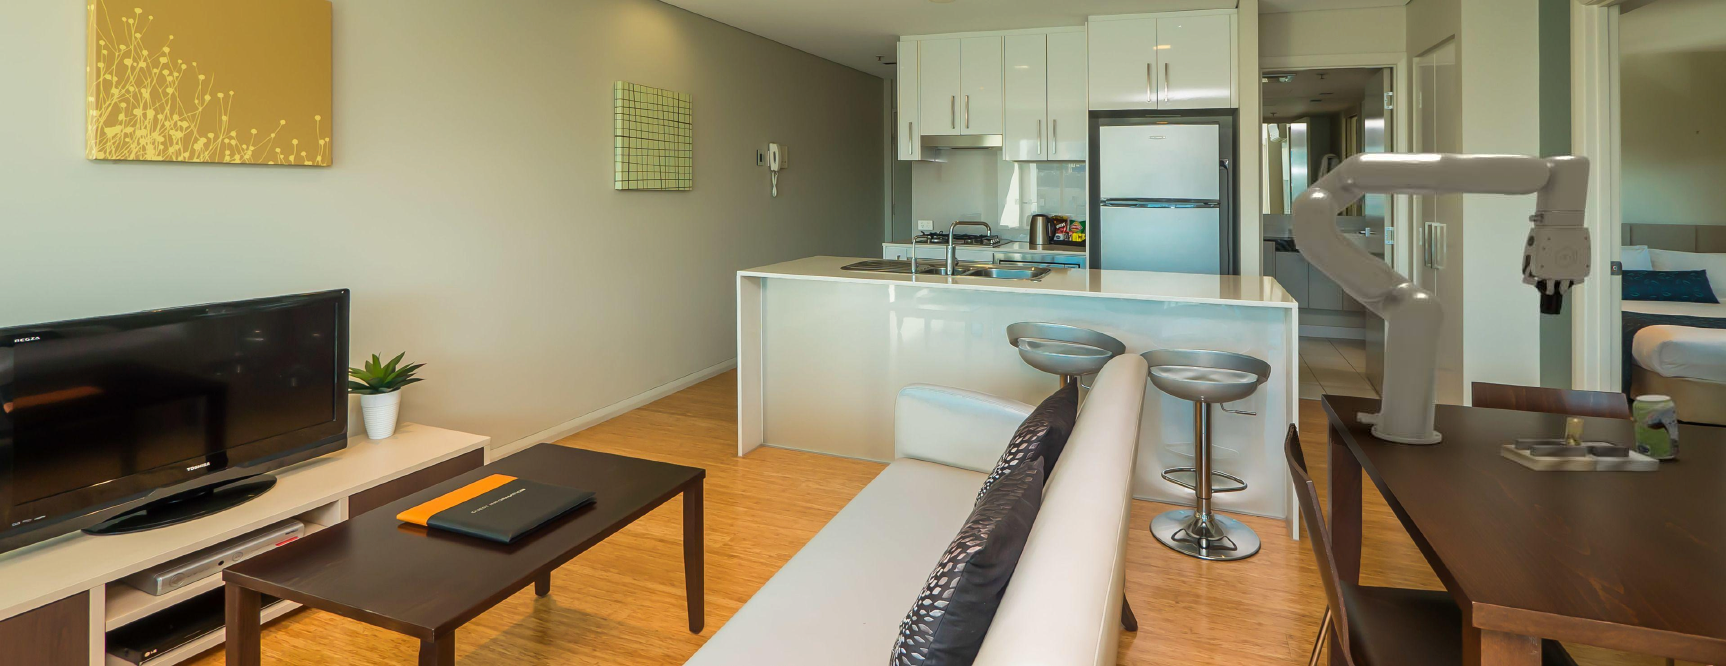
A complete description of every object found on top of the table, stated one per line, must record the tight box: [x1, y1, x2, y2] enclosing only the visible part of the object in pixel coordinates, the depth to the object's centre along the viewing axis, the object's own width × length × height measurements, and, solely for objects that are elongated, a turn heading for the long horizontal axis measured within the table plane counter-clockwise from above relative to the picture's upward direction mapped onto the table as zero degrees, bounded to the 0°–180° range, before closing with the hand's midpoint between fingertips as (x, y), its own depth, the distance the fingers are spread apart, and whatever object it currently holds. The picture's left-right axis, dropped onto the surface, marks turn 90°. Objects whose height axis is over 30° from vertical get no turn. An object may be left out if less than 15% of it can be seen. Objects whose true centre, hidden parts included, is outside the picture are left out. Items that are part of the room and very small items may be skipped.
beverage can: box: [1632, 394, 1680, 460], centre depth 163 cm, size 6×7×12 cm
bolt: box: [1560, 417, 1614, 454], centre depth 161 cm, size 8×2×6 cm, turn 85°
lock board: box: [1500, 438, 1660, 472], centre depth 161 cm, size 21×10×4 cm, turn 85°
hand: (1550, 313), depth 169 cm, fingers closed
